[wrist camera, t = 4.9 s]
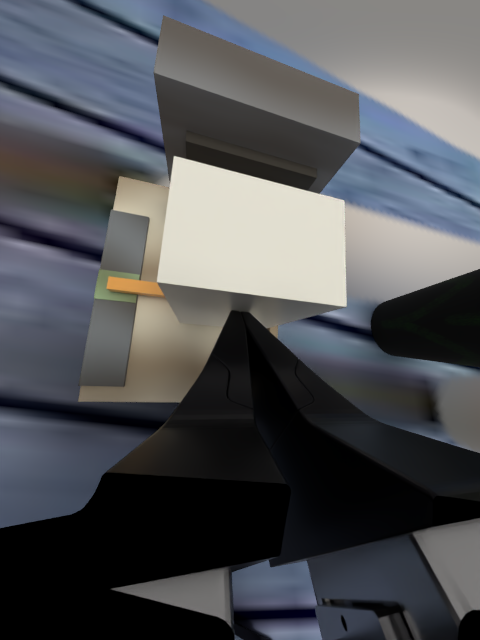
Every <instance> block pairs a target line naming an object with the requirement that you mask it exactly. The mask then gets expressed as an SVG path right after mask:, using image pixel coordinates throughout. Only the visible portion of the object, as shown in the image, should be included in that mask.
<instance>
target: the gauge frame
mask: <svg viewBox="0 0 480 640" xmlns="http://www.w3.org/2000/svg"><path fill="white" fill-rule="evenodd" d="M154 78H155V85H156V92H157V99H158V106H159V112H160V119H161V126H162V133H163V140H164V147H165V153H166V160H167V167H168V174H169V181H171V174H172V167H173V159H174V156H176V157H180V158H184V159H188V160H192V161H195V162H199V163H203V164H207V165H211V166H215V167H218V168H222V169H226V170H230V171H234V172H237V173H241V174H245V175H249V176H253V177H256V178H260V179H264V180H268V181H272V182H275V183H279V184H283V185H287V186H291V187H294V188H298V189H302V190H306V191H310V192H313V193H317V194H319V193H320V192H321V191H322V190H323V189H324V187H325V186H326V185H327V184H328V182H329V181H330V180H331V179H332V177H333V176H334V175H335V174H336V173H337V171H338V170H339V169H340V168H341V166H342V165H343V164H344V163H345V161H346V160H347V159H348V158H349V156H350V155H351V154H352V153H353V152H354V150H355V149H356V148H357V147H358V145H359V144H360V119H359V94H357V93H354V92H352V91H350V90H347V89H345V88H342V87H340V86H337V85H335V84H332V83H330V82H327V81H325V80H322V79H320V78H317V77H315V76H312V75H310V74H307V73H305V72H302V71H300V70H297V69H295V68H293V67H290V66H288V65H285V64H283V63H280V62H278V61H275V60H273V59H270V58H268V57H265V56H263V55H260V54H258V53H255V52H253V51H250V50H248V49H245V48H243V47H240V46H238V45H236V44H233V43H231V42H228V41H226V40H223V39H221V38H218V37H216V36H213V35H211V34H208V33H206V32H203V31H201V30H198V29H196V28H193V27H191V26H188V25H186V24H183V23H181V22H178V21H176V20H174V19H171V18H169V17H166V16H164V15H163V20H162V26H161V32H160V38H159V44H158V49H157V55H156V61H155V67H154ZM169 189H170V188H169V187H165V186H160V185H156V184H151V183H147V182H143V181H138V180H134V179H130V178H125V177H121V176H119V181H118V187H117V192H116V198H115V203H114V209H113V210H111V213H110V218H109V224H108V229H107V234H106V240H105V245H104V251H103V256H102V261H101V267H100V269H99V273H98V279H97V284H96V289H95V295H94V304H93V310H92V315H91V321H90V326H89V331H88V337H87V342H86V348H85V353H84V358H83V364H82V369H81V375H80V380H79V385H78V386H81V388H80V394H79V399H78V402H181V401H182V399H183V398H184V397H185V395H186V394H187V392H188V391H189V389H190V388H191V387H192V385H193V384H194V382H195V381H196V379H197V378H198V376H199V374H200V373H201V371H202V370H203V368H204V366H205V364H206V362H207V360H208V358H209V356H210V354H211V352H212V350H213V348H214V345H215V343H216V341H217V339H218V337H219V335H220V333H221V330H222V328H223V327H218V326H207V325H196V324H185V323H180V322H179V321H178V319H177V317H176V315H175V314H174V312H173V310H172V308H171V306H170V305H169V303H168V301H167V299H166V298H164V297H156V296H147V295H138V294H130V293H121V292H113V291H109V290H108V289H106V288H107V282H108V277H109V276H110V277H118V278H125V279H133V280H141V281H148V282H156V283H157V276H158V269H159V262H160V254H161V247H162V240H163V232H164V225H165V218H166V211H167V203H168V196H169ZM267 329H268V330H269V331H270V332H271V333H272V334H273V335H274V336H275V337H276V338H277V335H278V326H274V327H270V328H267Z"/></svg>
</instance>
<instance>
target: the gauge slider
mask: <svg viewBox="0 0 480 640" xmlns="http://www.w3.org/2000/svg"><path fill="white" fill-rule="evenodd" d="M106 289H108V290H109V291H113V292H121V293H130V294H138V295H147V296H156V297H164V298H166V299H167V301H168V303H169V305H170V306H171V308H172V310H173V312H174V314H175V315H176V317H177V319H178V321H179V322H180V323H185V324H196V325H207V326H218V327H223V326H224V324H225V322H226V320H227V318H228V316H229V313H230V311H231V310H235V311H240V312H241V311H244V312H249V313H251V314H252V315H253V316H254V317H255V318H256V319H257V320H258V321H259V322H260V323H261V324H262V325H263V326H264V327H266V328H270V327H274V326H278V325H281V324H285V323H289V322H292V321H296V320H300V319H304V318H307V317H311V316H315V315H318V314H322V313H326V312H329V311H333V310H337V309H340V308H344V307H346V256H345V206H344V200H340V199H336V198H332V197H329V196H325V195H321V194H317V193H313V192H310V191H306V190H302V189H298V188H294V187H291V186H287V185H283V184H279V183H275V182H272V181H268V180H264V179H260V178H256V177H253V176H249V175H245V174H241V173H237V172H234V171H230V170H226V169H222V168H218V167H215V166H211V165H207V164H203V163H199V162H195V161H192V160H188V159H184V158H180V157H176V156H174V159H173V167H172V174H171V181H170V189H169V196H168V203H167V211H166V218H165V225H164V232H163V240H162V247H161V254H160V262H159V269H158V276H157V283H156V282H148V281H141V280H133V279H125V278H118V277H110V276H109V277H108V282H107V288H106Z"/></svg>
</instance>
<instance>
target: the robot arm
mask: <svg viewBox="0 0 480 640" xmlns="http://www.w3.org/2000/svg"><path fill="white" fill-rule="evenodd" d="M267 560H269V563H270V567H275V566H281V565H286V564H292V563H297V562H302V561H307V564H308V568H309V572H310V576H311V580H312V584H313V588H314V592H315V596H316V600H317V604H318V605H317V606H315V611H316V615H317V619H318V623H319V628H320V632H321V636H322V640H480V453H477V452H474V451H470V450H467V449H464V448H460V447H457V446H454V445H451V444H448V443H444V442H441V441H438V440H435V439H431V438H428V437H425V436H422V435H419V434H415V433H412V432H409V431H406V430H402V429H399V428H396V427H393V426H390V425H387V424H384V423H381V422H379V421H377V420H375V419H373V418H371V417H369V416H368V415H366V414H365V413H363V412H362V411H361V410H359V409H358V408H357V407H355V406H354V405H353V404H352V403H350V402H349V401H348V400H347V399H345V398H344V397H343V396H342V395H341V394H339V393H338V392H337V391H336V390H334V389H333V388H332V387H331V386H329V385H328V384H327V383H326V382H325V381H323V380H322V379H321V378H320V377H319V376H317V375H316V374H315V373H314V372H313V371H312V370H311V369H309V368H308V367H307V366H306V365H305V364H304V363H303V362H302V361H301V360H300V359H298V358H297V357H296V356H295V355H294V354H293V353H292V352H291V351H290V350H289V349H288V348H287V347H286V346H285V345H284V344H283V343H281V342H280V341H279V340H278V339H277V338H276V337H275V336H274V335H273V334H272V333H271V332H270V331H269V330H268V329H267V328H266V327H264V326H263V325H262V324H261V323H260V322H259V321H258V320H257V319H256V318H255V317H254V316H253V315H252V314H251V313H249V312H244V311H241V312H240V311H235V310H231V311H230V313H229V316H228V318H227V320H226V322H225V324H224V326H223V328H222V330H221V333H220V335H219V337H218V339H217V341H216V343H215V345H214V348H213V350H212V352H211V354H210V356H209V358H208V360H207V362H206V364H205V366H204V368H203V370H202V371H201V373H200V374H199V376H198V378H197V379H196V381H195V382H194V384H193V385H192V387H191V388H190V389H189V391H188V392H187V394H186V395H185V397H184V398H183V399H182V401H181V402H180V404H179V405H178V407H177V408H176V409H175V411H174V412H173V413H172V415H171V416H170V417H169V419H168V420H167V421H166V422H165V423H164V424H163V426H162V427H161V428H160V429H159V430H157V431H156V432H155V433H154V434H153V435H151V436H150V437H149V438H148V439H146V440H145V441H144V442H143V443H141V444H140V445H139V446H138V447H136V448H135V449H134V450H133V451H132V452H130V453H129V454H128V455H127V456H125V457H124V458H123V459H122V460H120V461H119V462H118V463H117V464H115V465H114V466H113V467H112V468H111V469H109V470H108V471H107V472H106V473H104V474H103V475H102V477H101V480H100V482H99V485H98V487H97V489H96V491H95V493H94V495H93V496H92V498H91V499H90V500H89V502H88V503H87V504H86V505H85V507H84V508H83V509H81V510H80V511H78V512H76V513H74V514H72V515H67V516H61V517H56V518H51V519H46V520H41V521H35V522H30V523H25V524H20V525H14V526H9V527H4V528H0V640H268V639H266V638H264V637H262V636H260V635H258V634H256V633H254V632H253V631H251V630H249V629H247V628H245V627H243V626H241V625H239V624H237V623H235V622H234V612H233V592H232V572H233V571H236V570H239V569H242V568H246V567H249V566H252V565H255V564H258V563H261V562H264V561H267Z"/></svg>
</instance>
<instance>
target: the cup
mask: <svg viewBox="0 0 480 640" xmlns="http://www.w3.org/2000/svg"><path fill="white" fill-rule="evenodd" d="M371 329H372V334H373V336H374V339H375V341H376V343H377V344H378V346H379V347H380V348H381V349H382V350H383V351H384V352H386V353H388V354H390V355H393V356H399V357H407V358H414V359H422V360H429V361H437V362H444V363H452V364H459V365H467V366H475V367H480V269H478V270H475V271H473V272H470V273H467V274H464V275H461V276H458V277H455V278H452V279H449V280H446V281H444V282H441V283H438V284H435V285H432V286H429V287H426V288H424V289H420V290H417V291H415V292H412V293H409V294H406V295H403V296H400V297H397V298H394V299H391V300H388V301H386V302H383V303H381V304H380V305H379V306H378V307H377V308H376V309H375V311H374V313H373V315H372V320H371Z"/></svg>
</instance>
